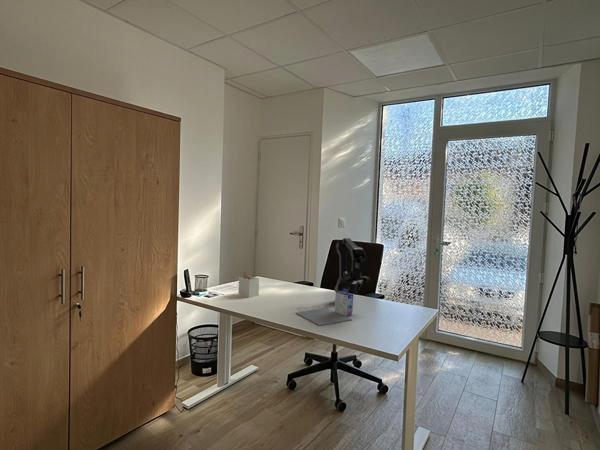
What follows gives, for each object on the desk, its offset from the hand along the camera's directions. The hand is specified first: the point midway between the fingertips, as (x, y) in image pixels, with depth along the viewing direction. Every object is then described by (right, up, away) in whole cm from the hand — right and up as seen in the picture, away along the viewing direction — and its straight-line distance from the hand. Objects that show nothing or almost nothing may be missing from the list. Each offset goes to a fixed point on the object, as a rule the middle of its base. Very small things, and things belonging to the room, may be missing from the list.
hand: (355, 294), depth 213 cm
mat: (-20, -10, -12) cm, 25 cm away
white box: (-69, -7, +31) cm, 76 cm away
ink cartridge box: (-8, -11, -4) cm, 14 cm away
